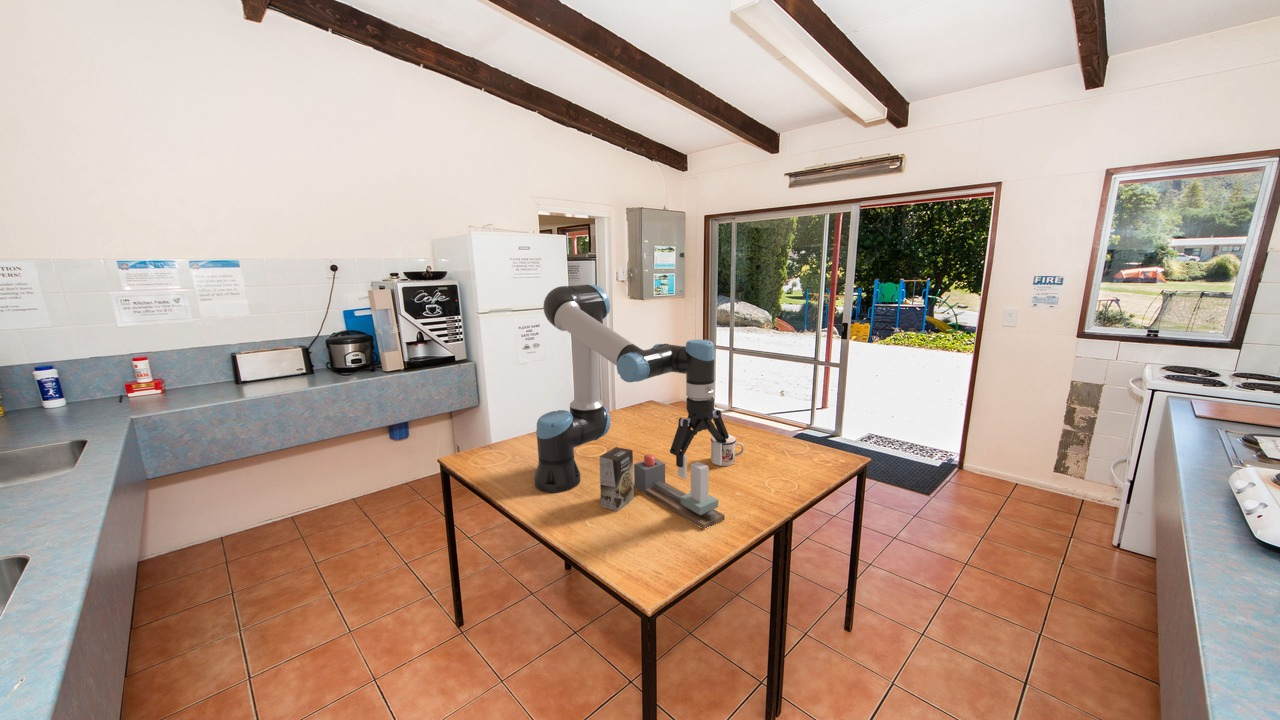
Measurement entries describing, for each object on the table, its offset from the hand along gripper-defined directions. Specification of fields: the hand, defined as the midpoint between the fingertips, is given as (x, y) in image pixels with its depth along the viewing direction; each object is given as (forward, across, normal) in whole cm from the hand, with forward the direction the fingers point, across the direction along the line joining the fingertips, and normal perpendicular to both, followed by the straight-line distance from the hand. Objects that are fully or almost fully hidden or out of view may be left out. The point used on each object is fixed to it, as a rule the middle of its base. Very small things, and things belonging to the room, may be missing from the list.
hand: (700, 470), depth 131 cm
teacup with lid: (+14, +34, +22) cm, 43 cm away
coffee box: (+14, -14, +22) cm, 29 cm away
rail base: (+14, 0, +8) cm, 16 cm away
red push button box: (+14, 0, +24) cm, 27 cm away
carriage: (+11, 0, 0) cm, 11 cm away
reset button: (+8, 0, +23) cm, 25 cm away
